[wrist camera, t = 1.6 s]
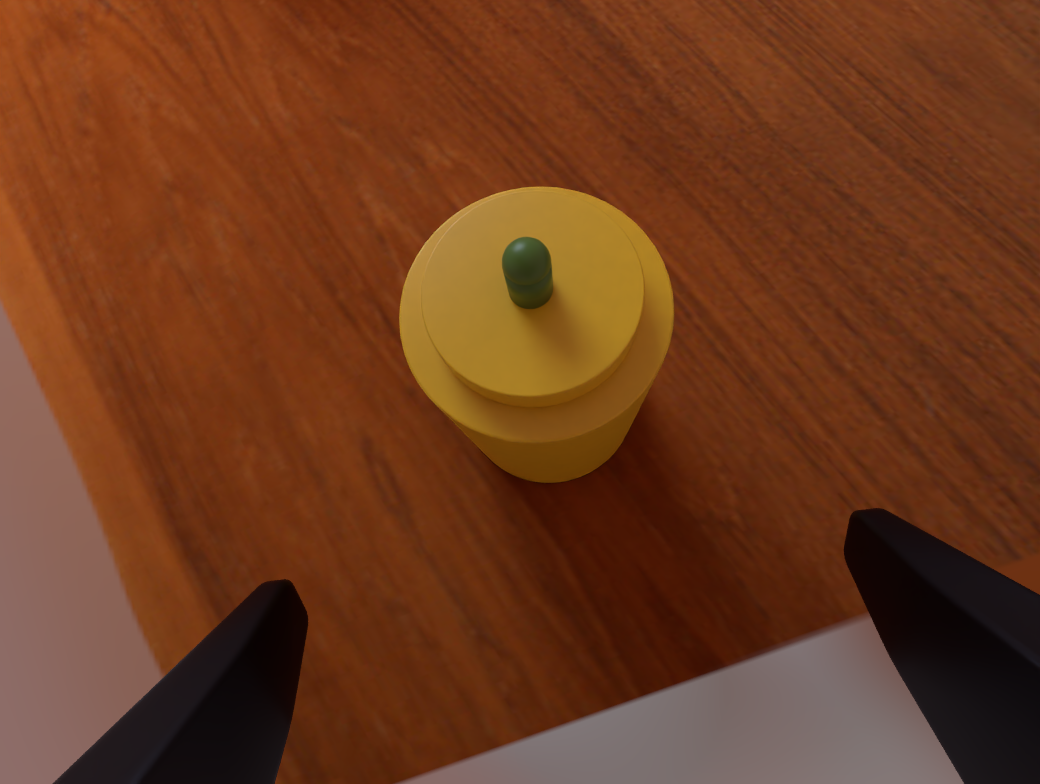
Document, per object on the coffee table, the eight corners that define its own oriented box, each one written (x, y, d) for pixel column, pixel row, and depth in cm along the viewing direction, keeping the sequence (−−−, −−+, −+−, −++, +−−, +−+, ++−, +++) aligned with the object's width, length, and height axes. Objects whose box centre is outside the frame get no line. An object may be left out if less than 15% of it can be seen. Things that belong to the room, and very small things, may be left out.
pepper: (660, 449, 21) (760, 345, 10) (495, 507, 21) (408, 468, 10) (597, 297, 23) (622, 64, 12) (445, 351, 23) (324, 169, 12)
